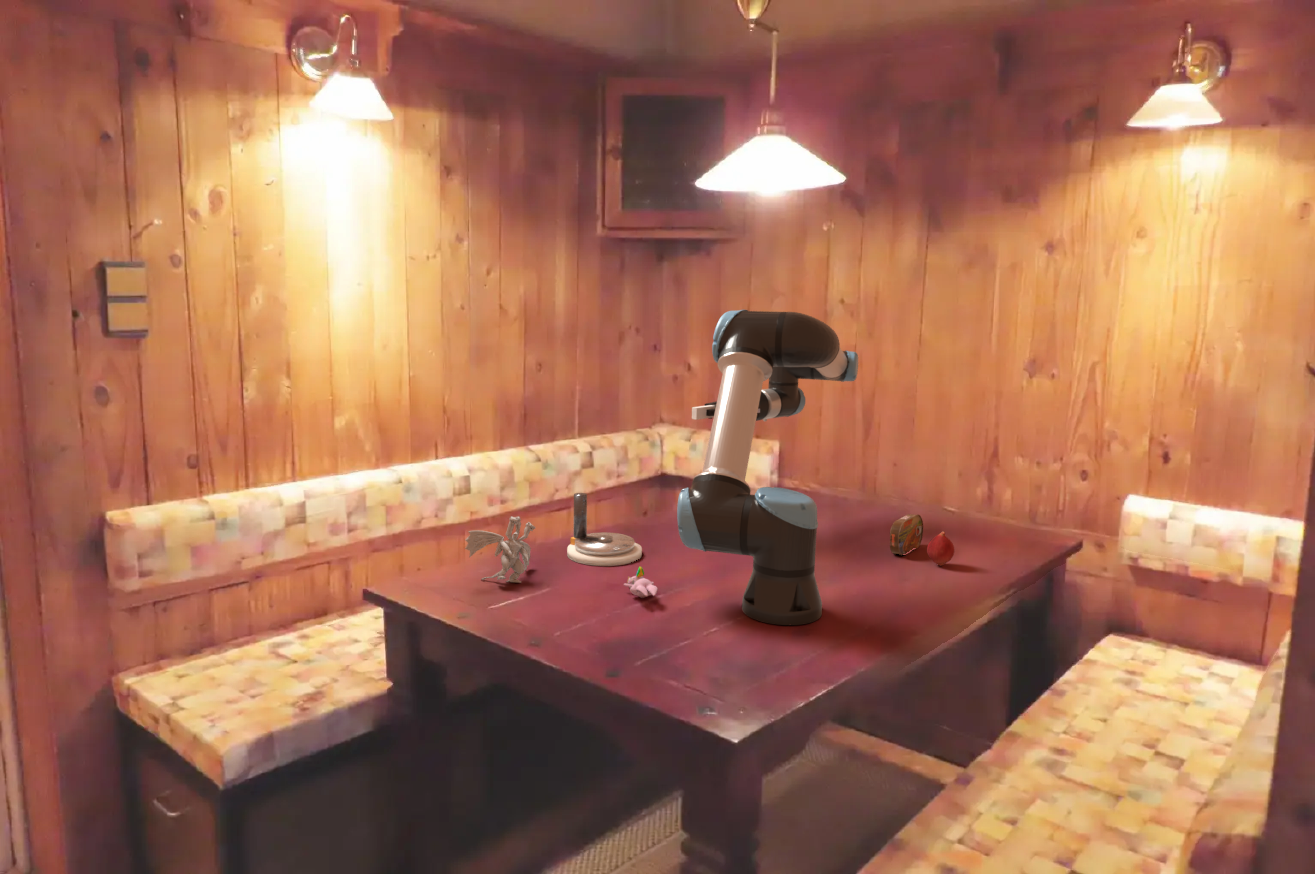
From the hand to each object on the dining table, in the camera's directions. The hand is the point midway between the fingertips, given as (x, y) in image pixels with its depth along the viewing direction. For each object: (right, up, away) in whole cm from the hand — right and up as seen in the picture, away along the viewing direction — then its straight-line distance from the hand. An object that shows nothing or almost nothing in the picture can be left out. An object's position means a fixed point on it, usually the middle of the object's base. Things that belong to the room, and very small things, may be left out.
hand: (694, 413), depth 210 cm
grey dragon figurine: (-39, -35, -20) cm, 57 cm away
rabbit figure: (-12, -37, -28) cm, 48 cm away
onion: (+55, -35, -4) cm, 65 cm away
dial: (-21, -31, -2) cm, 37 cm away
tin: (+50, -33, +7) cm, 60 cm away
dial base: (-21, -32, -2) cm, 38 cm away
